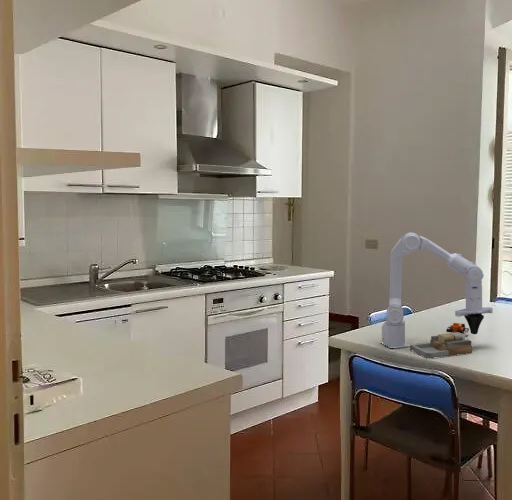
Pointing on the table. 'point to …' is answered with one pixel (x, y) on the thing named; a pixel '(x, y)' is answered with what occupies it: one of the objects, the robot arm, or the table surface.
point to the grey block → (458, 336)
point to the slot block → (452, 346)
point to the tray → (428, 350)
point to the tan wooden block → (445, 338)
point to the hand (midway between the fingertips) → (474, 333)
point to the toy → (457, 328)
